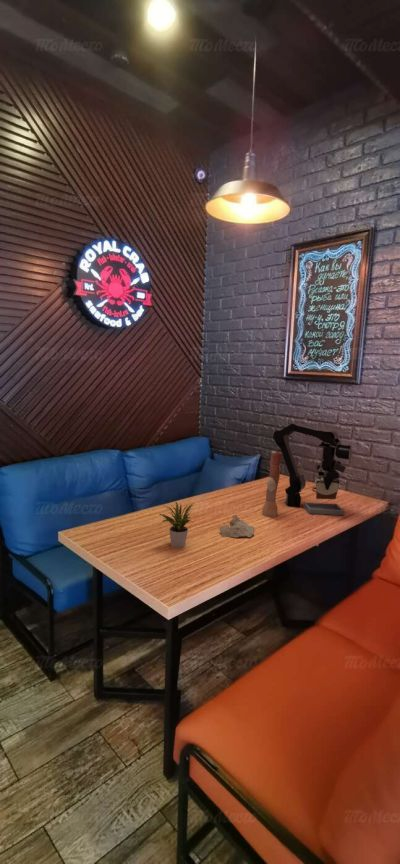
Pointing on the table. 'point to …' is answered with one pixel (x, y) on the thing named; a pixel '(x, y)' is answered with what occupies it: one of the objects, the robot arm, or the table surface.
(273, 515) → the tall figurine
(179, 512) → the house plant
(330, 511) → the grey tray
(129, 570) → the table surface
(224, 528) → the coral
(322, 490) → the food container
